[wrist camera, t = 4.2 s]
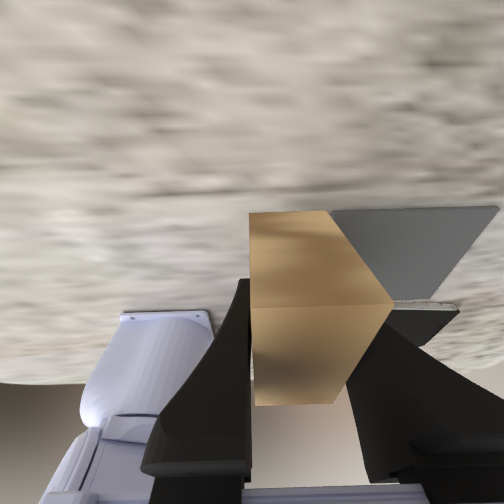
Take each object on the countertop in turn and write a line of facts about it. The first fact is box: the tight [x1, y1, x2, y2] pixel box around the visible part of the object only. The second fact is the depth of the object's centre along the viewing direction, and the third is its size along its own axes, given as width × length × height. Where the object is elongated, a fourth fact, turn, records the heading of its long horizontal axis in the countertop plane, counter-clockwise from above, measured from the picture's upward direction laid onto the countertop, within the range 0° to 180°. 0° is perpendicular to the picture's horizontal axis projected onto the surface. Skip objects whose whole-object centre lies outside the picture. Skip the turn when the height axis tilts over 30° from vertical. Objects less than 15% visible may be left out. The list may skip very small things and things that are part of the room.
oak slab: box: [249, 210, 395, 406], centre depth 10 cm, size 4×8×6 cm, turn 2°
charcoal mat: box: [331, 206, 500, 300], centre depth 17 cm, size 12×10×1 cm
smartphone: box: [384, 303, 460, 347], centre depth 24 cm, size 8×1×15 cm
